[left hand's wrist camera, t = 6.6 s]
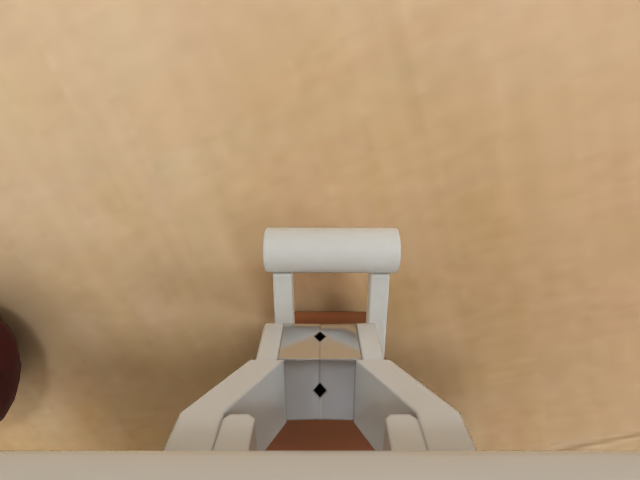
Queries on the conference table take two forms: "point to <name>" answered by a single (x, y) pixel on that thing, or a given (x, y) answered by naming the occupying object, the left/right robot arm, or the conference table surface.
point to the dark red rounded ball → (8, 368)
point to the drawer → (329, 257)
